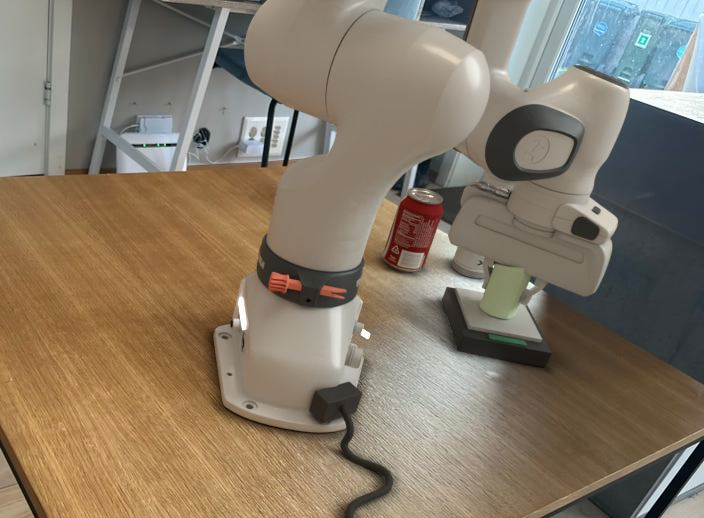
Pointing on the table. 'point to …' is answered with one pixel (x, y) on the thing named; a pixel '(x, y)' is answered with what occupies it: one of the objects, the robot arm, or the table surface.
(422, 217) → the soda can
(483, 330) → the scale
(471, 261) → the travel mug
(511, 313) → the candle
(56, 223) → the table surface
